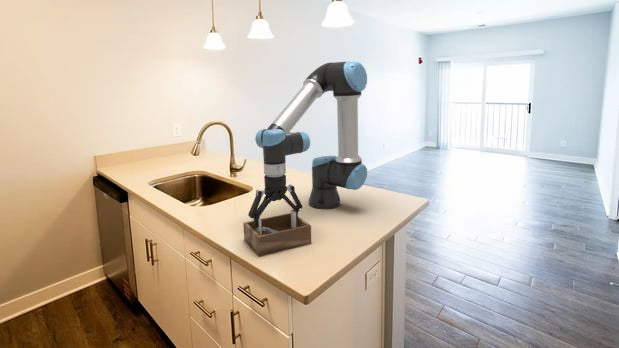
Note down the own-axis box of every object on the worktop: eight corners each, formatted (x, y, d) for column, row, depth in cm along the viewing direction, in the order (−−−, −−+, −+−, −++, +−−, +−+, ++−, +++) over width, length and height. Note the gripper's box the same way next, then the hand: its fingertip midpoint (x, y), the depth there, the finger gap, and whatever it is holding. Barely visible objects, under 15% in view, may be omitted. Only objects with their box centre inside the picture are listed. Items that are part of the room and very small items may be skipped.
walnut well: (244, 240, 129) (243, 222, 128) (292, 229, 139) (292, 212, 137) (259, 256, 117) (258, 237, 115) (311, 243, 126) (311, 225, 124)
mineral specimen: (274, 233, 134) (274, 223, 133) (294, 241, 125) (294, 230, 125) (260, 238, 130) (260, 227, 129) (280, 246, 121) (279, 234, 120)
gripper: (244, 182, 112) (247, 242, 118) (311, 172, 124) (311, 227, 129) (236, 176, 119) (240, 234, 124) (301, 168, 130) (302, 221, 136)
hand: (276, 231), depth 127 cm, fingers open, 13 cm apart
